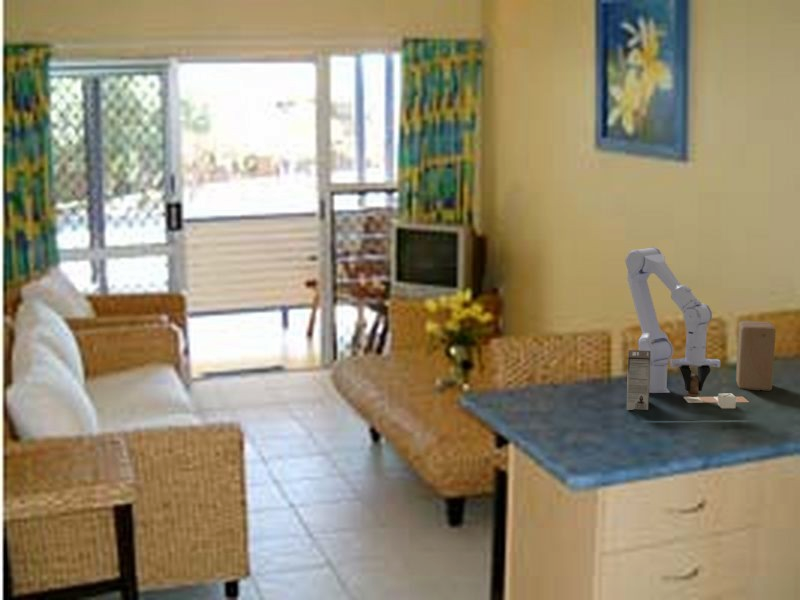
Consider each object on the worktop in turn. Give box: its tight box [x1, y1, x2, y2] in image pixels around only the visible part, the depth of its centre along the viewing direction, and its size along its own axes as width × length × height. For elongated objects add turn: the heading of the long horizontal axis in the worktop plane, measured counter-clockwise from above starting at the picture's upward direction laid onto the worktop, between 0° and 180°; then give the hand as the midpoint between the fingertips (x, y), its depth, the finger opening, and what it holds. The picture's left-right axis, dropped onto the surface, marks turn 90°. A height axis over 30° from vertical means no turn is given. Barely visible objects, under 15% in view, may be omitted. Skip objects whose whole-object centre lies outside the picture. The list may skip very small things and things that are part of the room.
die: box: [717, 392, 737, 409], centre depth 326 cm, size 4×4×4 cm
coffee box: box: [626, 349, 651, 411], centre depth 327 cm, size 9×6×16 cm
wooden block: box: [735, 320, 777, 392], centre depth 348 cm, size 10×10×20 cm
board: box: [683, 396, 750, 404], centre depth 334 cm, size 18×6×1 cm, turn 91°
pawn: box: [686, 373, 701, 397], centre depth 333 cm, size 4×4×6 cm
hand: (693, 390), depth 333 cm, fingers closed on pawn, 3 cm apart
